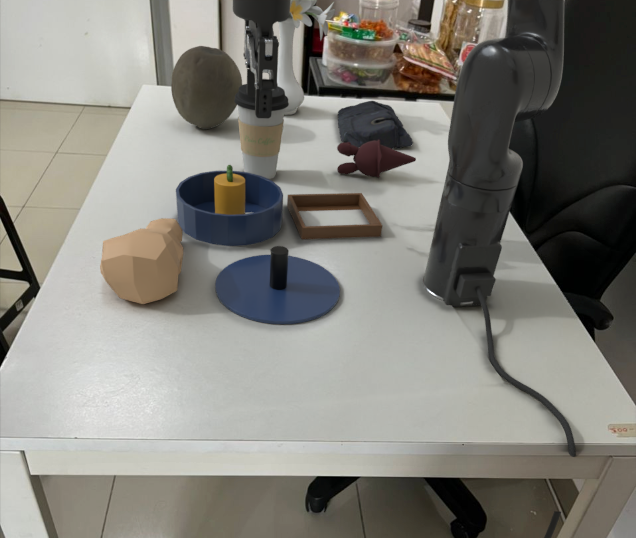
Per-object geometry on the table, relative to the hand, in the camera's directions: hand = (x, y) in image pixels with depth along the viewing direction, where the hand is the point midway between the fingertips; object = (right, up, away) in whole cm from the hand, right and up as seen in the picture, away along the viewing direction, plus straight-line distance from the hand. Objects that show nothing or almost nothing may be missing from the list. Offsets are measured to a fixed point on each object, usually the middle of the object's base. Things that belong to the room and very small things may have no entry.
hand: (258, 106), depth 93 cm
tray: (+11, -13, +15) cm, 23 cm away
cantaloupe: (-15, +16, +44) cm, 49 cm away
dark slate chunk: (+21, +17, +50) cm, 57 cm away
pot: (-6, -14, +12) cm, 19 cm away
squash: (-15, -25, -2) cm, 29 cm away
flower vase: (+1, +24, +56) cm, 61 cm away
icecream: (+19, +1, +31) cm, 37 cm away
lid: (+3, -27, -3) cm, 27 cm away
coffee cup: (-2, -1, +27) cm, 27 cm away
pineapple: (-6, -13, +11) cm, 19 cm away
